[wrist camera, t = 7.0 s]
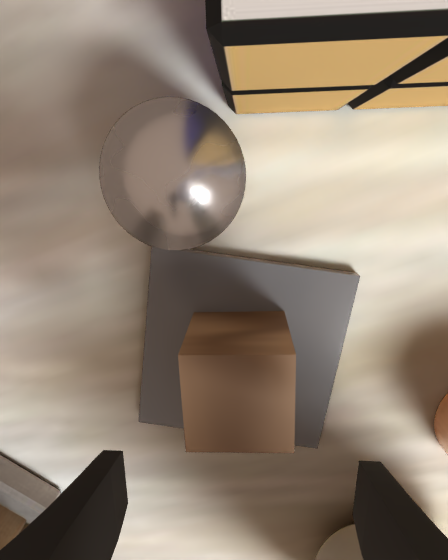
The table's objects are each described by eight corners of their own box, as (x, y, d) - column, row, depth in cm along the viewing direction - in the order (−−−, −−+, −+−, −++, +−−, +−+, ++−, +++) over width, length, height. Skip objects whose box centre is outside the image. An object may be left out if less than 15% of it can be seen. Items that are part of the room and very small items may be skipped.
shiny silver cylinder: (253, 125, 17) (256, 107, 12) (237, 235, 18) (234, 259, 13) (142, 110, 17) (101, 87, 12) (136, 221, 18) (97, 240, 13)
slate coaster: (356, 272, 18) (359, 276, 18) (315, 440, 21) (317, 448, 21) (154, 244, 18) (151, 246, 18) (141, 414, 21) (138, 421, 21)
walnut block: (284, 311, 18) (295, 354, 14) (283, 390, 20) (294, 452, 15) (193, 312, 19) (178, 355, 14) (198, 390, 20) (185, 452, 16)
